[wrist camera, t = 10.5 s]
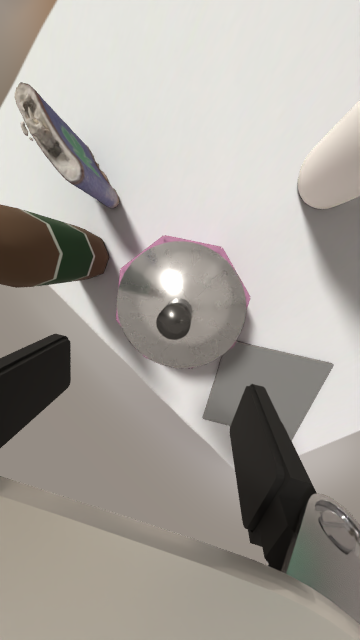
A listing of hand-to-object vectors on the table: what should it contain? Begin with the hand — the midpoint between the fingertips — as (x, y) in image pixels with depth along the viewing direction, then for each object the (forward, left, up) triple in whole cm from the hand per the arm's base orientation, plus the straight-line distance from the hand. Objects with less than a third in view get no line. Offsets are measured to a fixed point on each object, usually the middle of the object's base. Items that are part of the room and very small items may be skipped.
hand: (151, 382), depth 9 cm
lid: (0, 0, -16) cm, 16 cm away
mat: (-18, +14, -22) cm, 31 cm away
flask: (+16, -15, -22) cm, 31 cm away
